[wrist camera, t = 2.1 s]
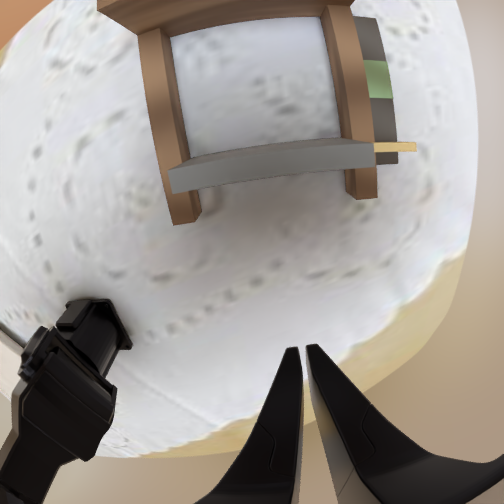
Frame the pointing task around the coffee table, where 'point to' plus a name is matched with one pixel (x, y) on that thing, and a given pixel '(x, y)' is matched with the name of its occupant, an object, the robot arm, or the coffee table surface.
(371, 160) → the pad
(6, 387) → the square plate
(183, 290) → the coffee table surface
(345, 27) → the brown wooden frame
